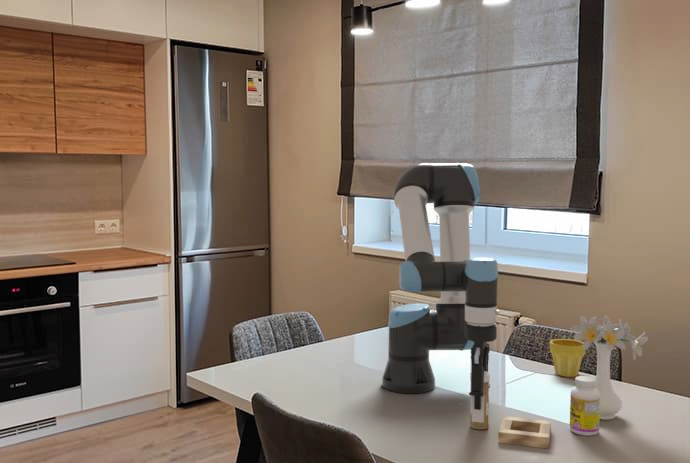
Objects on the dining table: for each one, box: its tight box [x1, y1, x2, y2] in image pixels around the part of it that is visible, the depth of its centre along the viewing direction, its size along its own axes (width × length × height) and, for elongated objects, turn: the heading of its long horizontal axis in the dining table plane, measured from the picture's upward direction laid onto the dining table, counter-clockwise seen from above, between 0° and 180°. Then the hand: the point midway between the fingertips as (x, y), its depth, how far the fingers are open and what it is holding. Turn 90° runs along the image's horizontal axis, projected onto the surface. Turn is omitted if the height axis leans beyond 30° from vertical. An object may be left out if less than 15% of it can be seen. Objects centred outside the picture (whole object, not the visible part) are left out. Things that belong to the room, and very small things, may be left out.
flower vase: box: [569, 315, 649, 421], centre depth 178 cm, size 13×18×25 cm
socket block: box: [498, 415, 552, 449], centre depth 164 cm, size 11×11×2 cm
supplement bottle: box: [569, 375, 600, 437], centre depth 167 cm, size 7×7×13 cm
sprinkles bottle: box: [469, 371, 491, 431], centre depth 170 cm, size 5×5×13 cm
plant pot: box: [549, 338, 587, 378], centre depth 215 cm, size 10×10×10 cm
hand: (479, 417), depth 171 cm, fingers closed on sprinkles bottle, 4 cm apart
